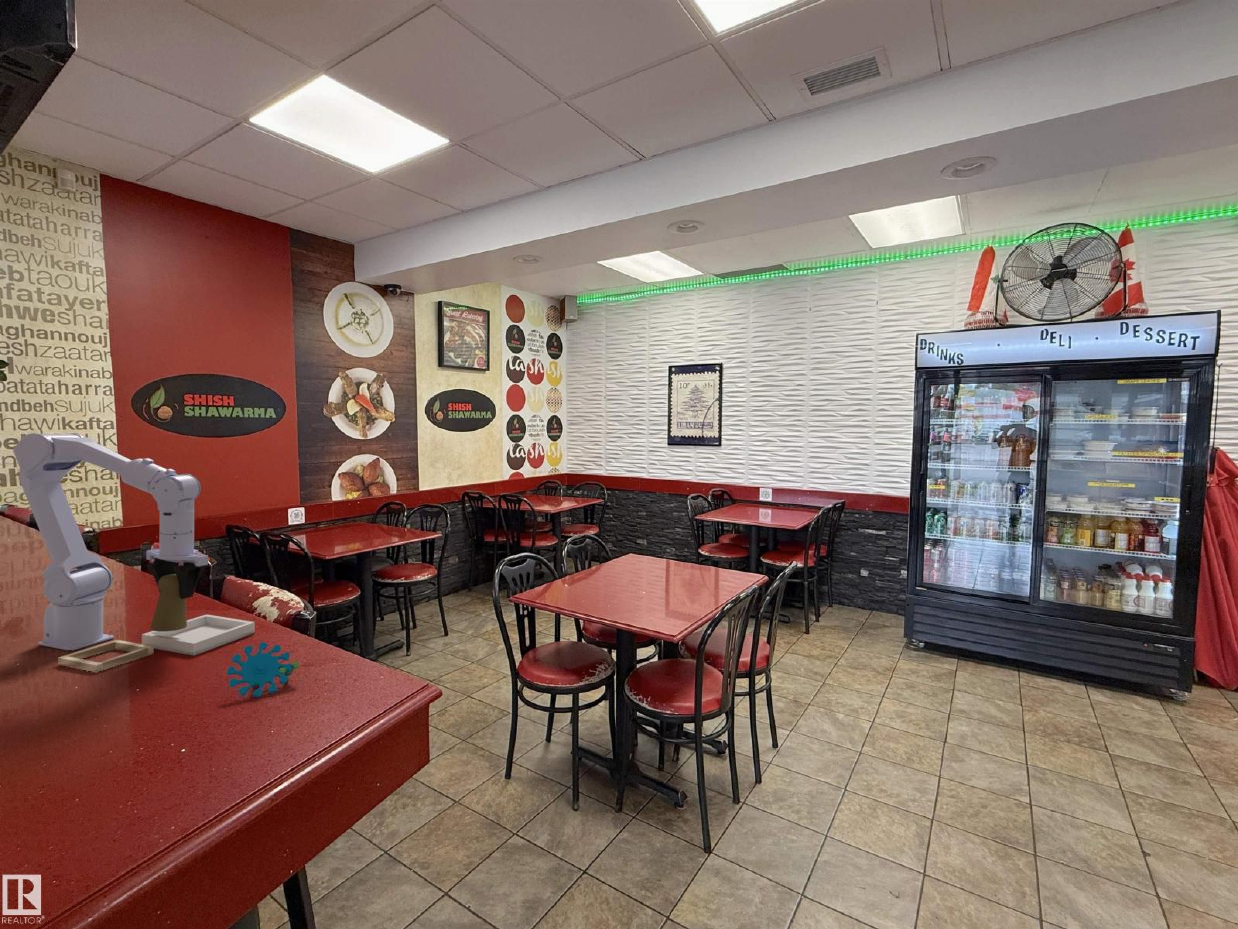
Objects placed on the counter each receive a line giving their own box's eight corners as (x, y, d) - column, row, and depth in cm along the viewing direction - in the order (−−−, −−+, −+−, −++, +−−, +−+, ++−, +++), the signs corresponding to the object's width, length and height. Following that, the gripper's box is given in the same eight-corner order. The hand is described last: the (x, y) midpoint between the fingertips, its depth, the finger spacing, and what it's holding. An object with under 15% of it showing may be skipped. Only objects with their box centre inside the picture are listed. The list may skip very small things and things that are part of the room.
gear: (222, 696, 94) (231, 641, 100) (219, 710, 97) (228, 656, 103) (297, 691, 100) (301, 639, 106) (292, 705, 103) (296, 653, 109)
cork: (167, 633, 113) (173, 579, 113) (142, 629, 114) (148, 575, 114) (194, 625, 119) (200, 574, 119) (170, 622, 120) (176, 571, 120)
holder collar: (57, 665, 106) (57, 657, 106) (116, 646, 115) (116, 639, 115) (96, 673, 103) (96, 665, 103) (153, 653, 113) (153, 646, 113)
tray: (141, 646, 116) (141, 634, 116) (206, 625, 130) (206, 614, 130) (193, 655, 113) (193, 643, 113) (254, 633, 126) (254, 622, 126)
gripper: (222, 532, 119) (221, 595, 119) (170, 526, 123) (170, 587, 123) (188, 537, 112) (188, 604, 113) (135, 531, 116) (135, 595, 116)
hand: (176, 596), depth 117 cm, fingers closed on cork, 5 cm apart
